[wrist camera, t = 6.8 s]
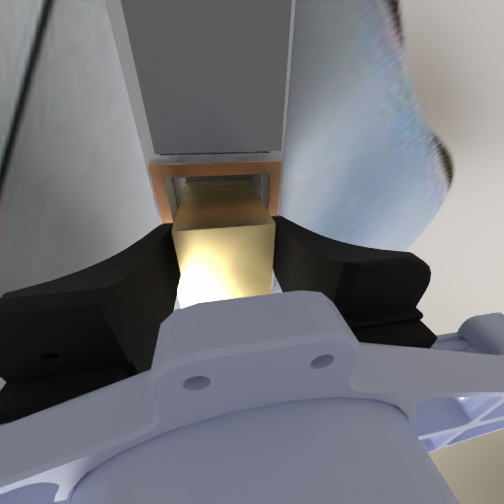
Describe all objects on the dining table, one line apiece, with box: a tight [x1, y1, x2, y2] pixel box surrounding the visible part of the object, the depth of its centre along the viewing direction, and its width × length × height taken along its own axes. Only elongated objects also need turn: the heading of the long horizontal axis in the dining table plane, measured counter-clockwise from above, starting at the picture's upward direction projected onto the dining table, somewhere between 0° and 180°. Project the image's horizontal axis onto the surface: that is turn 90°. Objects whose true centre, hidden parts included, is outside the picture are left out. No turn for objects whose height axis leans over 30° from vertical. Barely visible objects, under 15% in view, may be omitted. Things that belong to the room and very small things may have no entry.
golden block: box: [171, 180, 276, 306], centre depth 12 cm, size 4×4×6 cm
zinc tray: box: [105, 0, 296, 308], centre depth 14 cm, size 7×20×2 cm, turn 179°
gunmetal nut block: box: [121, 0, 292, 154], centre depth 9 cm, size 4×4×6 cm
